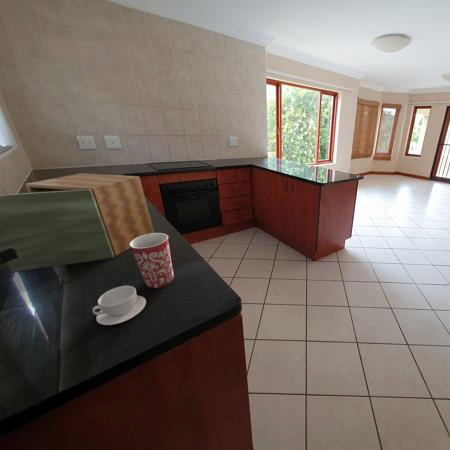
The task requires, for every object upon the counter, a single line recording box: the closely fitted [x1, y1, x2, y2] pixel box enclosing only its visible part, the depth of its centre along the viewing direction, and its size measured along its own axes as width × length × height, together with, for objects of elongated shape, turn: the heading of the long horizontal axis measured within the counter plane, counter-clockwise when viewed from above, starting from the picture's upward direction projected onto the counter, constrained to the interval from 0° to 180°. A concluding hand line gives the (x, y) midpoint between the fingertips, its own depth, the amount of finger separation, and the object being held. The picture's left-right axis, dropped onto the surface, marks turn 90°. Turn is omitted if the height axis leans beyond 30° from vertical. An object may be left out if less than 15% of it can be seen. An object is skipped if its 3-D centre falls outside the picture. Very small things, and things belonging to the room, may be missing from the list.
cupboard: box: [24, 172, 155, 257], centre depth 87 cm, size 18×26×24 cm
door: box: [0, 189, 116, 273], centre depth 70 cm, size 6×26×24 cm, turn 110°
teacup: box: [92, 285, 147, 326], centre depth 57 cm, size 10×10×5 cm
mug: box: [129, 232, 175, 289], centre depth 68 cm, size 13×9×14 cm
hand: (13, 252), depth 64 cm, fingers closed
